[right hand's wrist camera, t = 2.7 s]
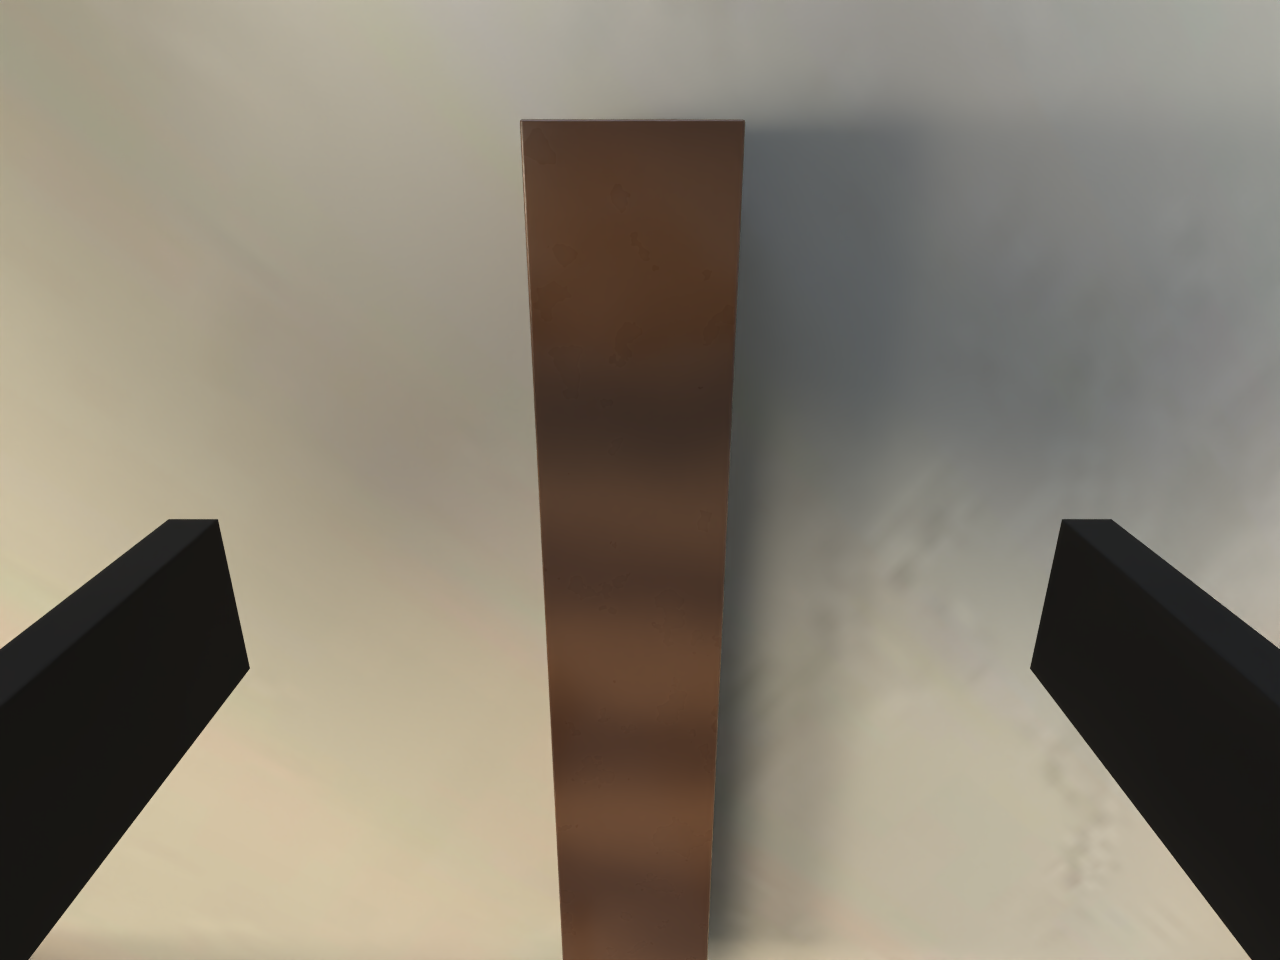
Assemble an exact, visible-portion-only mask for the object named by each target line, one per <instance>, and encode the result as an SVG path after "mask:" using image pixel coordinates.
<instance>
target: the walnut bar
mask: <svg viewBox="0 0 1280 960" xmlns="http://www.w3.org/2000/svg"><path fill="white" fill-rule="evenodd" d="M520 133H521V152H522V172H523V191H524V211H525V230H526V250H527V269H528V289H529V308H530V328H531V347H532V367H533V386H534V406H535V426H536V445H537V465H538V484H539V504H540V523H541V543H542V562H543V582H544V601H545V621H546V640H547V660H548V679H549V699H550V718H551V738H552V757H553V777H554V796H555V816H556V835H557V855H558V874H559V894H560V913H561V933H562V952H563V960H707V954H708V932H709V910H710V887H711V865H712V843H713V821H714V799H715V777H716V755H717V733H718V711H719V689H720V667H721V645H722V622H723V600H724V578H725V556H726V534H727V512H728V490H729V468H730V446H731V424H732V402H733V380H734V358H735V335H736V313H737V291H738V269H739V247H740V225H741V203H742V181H743V159H744V137H745V120H743V119H522V120H521V121H520Z"/></svg>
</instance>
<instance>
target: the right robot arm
mask: <svg viewBox="0 0 1280 960" xmlns="http://www.w3.org/2000/svg"><path fill="white" fill-rule="evenodd" d="M249 669H250V667H249V662H248V657H247V653H246V648H245V644H244V639H243V634H242V630H241V625H240V620H239V616H238V611H237V606H236V602H235V597H234V592H233V588H232V583H231V578H230V574H229V569H228V564H227V560H226V555H225V550H224V546H223V541H222V536H221V532H220V527H219V522H218V519H168V520H167V521H166V522H165V523H163V524H162V525H161V526H159V527H158V528H157V529H155V530H154V531H153V532H152V533H150V534H149V535H148V536H146V537H145V538H144V539H143V540H141V541H140V542H139V543H137V544H136V545H135V546H133V547H132V548H131V549H130V550H128V551H127V552H126V553H124V554H123V555H122V556H120V557H119V558H118V559H117V560H115V561H114V562H113V563H111V564H110V565H109V566H108V567H106V568H105V569H104V570H102V571H101V572H100V573H98V574H97V575H96V576H95V577H93V578H92V579H91V580H89V581H88V582H87V583H86V584H84V585H83V586H82V587H80V588H79V589H78V590H76V591H75V592H74V593H73V594H71V595H70V596H69V597H67V598H66V599H65V600H63V601H62V602H61V603H60V604H58V605H57V606H56V607H54V608H53V609H52V610H51V611H49V612H48V613H47V614H45V615H44V616H43V617H41V618H40V619H39V620H38V621H36V622H35V623H34V624H32V625H31V626H30V627H29V628H27V629H26V630H25V631H23V632H22V633H21V634H19V635H18V636H17V637H16V638H14V639H13V640H12V641H10V642H9V643H8V644H6V645H5V646H4V647H3V648H1V649H0V960H28V959H29V958H30V957H31V956H32V954H33V953H34V952H35V950H36V949H37V948H38V946H39V945H40V944H41V942H42V941H43V940H44V938H45V937H46V936H47V935H48V933H49V932H50V931H51V929H52V928H53V927H54V925H55V924H56V923H57V921H58V920H59V919H60V917H61V916H62V915H63V913H64V912H65V911H66V910H67V908H68V907H69V906H70V904H71V903H72V902H73V900H74V899H75V898H76V896H77V895H78V894H79V892H80V891H81V890H82V888H83V887H84V886H85V885H86V883H87V882H88V881H89V879H90V878H91V877H92V875H93V874H94V873H95V871H96V870H97V869H98V867H99V866H100V865H101V864H102V862H103V861H104V860H105V858H106V857H107V856H108V854H109V853H110V852H111V850H112V849H113V848H114V846H115V845H116V844H117V842H118V841H119V840H120V839H121V837H122V836H123V835H124V833H125V832H126V831H127V829H128V828H129V827H130V825H131V824H132V823H133V821H134V820H135V819H136V817H137V816H138V815H139V814H140V812H141V811H142V810H143V808H144V807H145V806H146V804H147V803H148V802H149V800H150V799H151V798H152V796H153V795H154V794H155V793H156V791H157V790H158V789H159V787H160V786H161V785H162V783H163V782H164V781H165V779H166V778H167V777H168V775H169V774H170V773H171V771H172V770H173V769H174V768H175V766H176V765H177V764H178V762H179V761H180V760H181V758H182V757H183V756H184V754H185V753H186V752H187V750H188V749H189V748H190V746H191V745H192V744H193V743H194V741H195V740H196V739H197V737H198V736H199V735H200V733H201V732H202V731H203V729H204V728H205V727H206V725H207V724H208V723H209V722H210V720H211V719H212V718H213V716H214V715H215V714H216V712H217V711H218V710H219V708H220V707H221V706H222V704H223V703H224V702H225V700H226V699H227V698H228V697H229V695H230V694H231V693H232V691H233V690H234V689H235V687H236V686H237V685H238V683H239V682H240V681H241V679H242V678H243V677H244V675H245V674H246V673H247V672H248V670H249ZM1030 669H1031V670H1032V672H1033V673H1034V674H1035V675H1036V677H1037V678H1038V679H1039V681H1040V682H1041V683H1042V685H1043V686H1044V687H1045V689H1046V690H1047V691H1048V693H1049V694H1050V695H1051V697H1052V698H1053V699H1054V700H1055V702H1056V703H1057V704H1058V706H1059V707H1060V708H1061V710H1062V711H1063V712H1064V714H1065V715H1066V716H1067V718H1068V719H1069V720H1070V722H1071V723H1072V724H1073V725H1074V727H1075V728H1076V729H1077V731H1078V732H1079V733H1080V735H1081V736H1082V737H1083V739H1084V740H1085V741H1086V743H1087V744H1088V745H1089V746H1090V748H1091V749H1092V750H1093V752H1094V753H1095V754H1096V756H1097V757H1098V758H1099V760H1100V761H1101V762H1102V764H1103V765H1104V766H1105V768H1106V769H1107V770H1108V771H1109V773H1110V774H1111V775H1112V777H1113V778H1114V779H1115V781H1116V782H1117V783H1118V785H1119V786H1120V787H1121V789H1122V790H1123V791H1124V793H1125V794H1126V795H1127V796H1128V798H1129V799H1130V800H1131V802H1132V803H1133V804H1134V806H1135V807H1136V808H1137V810H1138V811H1139V812H1140V814H1141V815H1142V816H1143V817H1144V819H1145V820H1146V821H1147V823H1148V824H1149V825H1150V827H1151V828H1152V829H1153V831H1154V832H1155V833H1156V835H1157V836H1158V837H1159V839H1160V840H1161V841H1162V842H1163V844H1164V845H1165V846H1166V848H1167V849H1168V850H1169V852H1170V853H1171V854H1172V856H1173V857H1174V858H1175V860H1176V861H1177V862H1178V864H1179V865H1180V866H1181V867H1182V869H1183V870H1184V871H1185V873H1186V874H1187V875H1188V877H1189V878H1190V879H1191V881H1192V882H1193V883H1194V885H1195V886H1196V887H1197V888H1198V890H1199V891H1200V892H1201V894H1202V895H1203V896H1204V898H1205V899H1206V900H1207V902H1208V903H1209V904H1210V906H1211V907H1212V908H1213V910H1214V911H1215V912H1216V913H1217V915H1218V916H1219V917H1220V919H1221V920H1222V921H1223V923H1224V924H1225V925H1226V927H1227V928H1228V929H1229V931H1230V932H1231V933H1232V935H1233V936H1234V937H1235V938H1236V940H1237V941H1238V942H1239V944H1240V945H1241V946H1242V948H1243V949H1244V950H1245V952H1246V953H1247V954H1248V956H1249V957H1250V958H1251V959H1252V960H1280V649H1279V648H1277V647H1276V646H1275V645H1274V644H1272V643H1271V642H1270V641H1268V640H1267V639H1266V638H1264V637H1263V636H1262V635H1261V634H1259V633H1258V632H1257V631H1255V630H1254V629H1253V628H1251V627H1250V626H1249V625H1248V624H1246V623H1245V622H1244V621H1242V620H1241V619H1240V618H1239V617H1237V616H1236V615H1235V614H1233V613H1232V612H1231V611H1229V610H1228V609H1227V608H1226V607H1224V606H1223V605H1222V604H1220V603H1219V602H1218V601H1217V600H1215V599H1214V598H1213V597H1211V596H1210V595H1209V594H1207V593H1206V592H1205V591H1204V590H1202V589H1201V588H1200V587H1198V586H1197V585H1196V584H1194V583H1193V582H1192V581H1191V580H1189V579H1188V578H1187V577H1185V576H1184V575H1183V574H1182V573H1180V572H1179V571H1178V570H1176V569H1175V568H1174V567H1172V566H1171V565H1170V564H1169V563H1167V562H1166V561H1165V560H1163V559H1162V558H1161V557H1160V556H1158V555H1157V554H1156V553H1154V552H1153V551H1152V550H1150V549H1149V548H1148V547H1147V546H1145V545H1144V544H1143V543H1141V542H1140V541H1139V540H1137V539H1136V538H1135V537H1134V536H1132V535H1131V534H1130V533H1128V532H1127V531H1126V530H1125V529H1123V528H1122V527H1121V526H1119V525H1118V524H1117V523H1115V522H1114V521H1113V520H1112V519H1062V522H1061V527H1060V532H1059V536H1058V541H1057V546H1056V550H1055V555H1054V560H1053V564H1052V569H1051V574H1050V578H1049V583H1048V588H1047V592H1046V597H1045V602H1044V606H1043V611H1042V616H1041V620H1040V625H1039V630H1038V634H1037V639H1036V644H1035V648H1034V653H1033V657H1032V662H1031V667H1030Z"/></svg>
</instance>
